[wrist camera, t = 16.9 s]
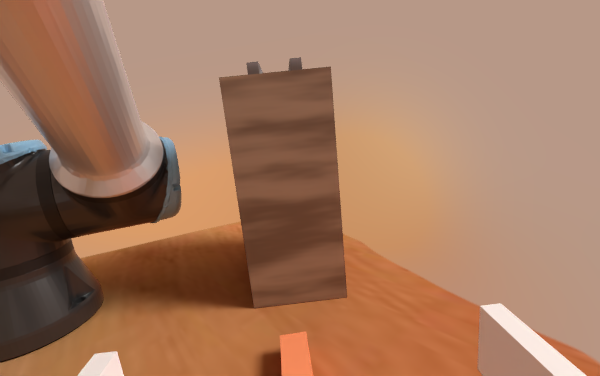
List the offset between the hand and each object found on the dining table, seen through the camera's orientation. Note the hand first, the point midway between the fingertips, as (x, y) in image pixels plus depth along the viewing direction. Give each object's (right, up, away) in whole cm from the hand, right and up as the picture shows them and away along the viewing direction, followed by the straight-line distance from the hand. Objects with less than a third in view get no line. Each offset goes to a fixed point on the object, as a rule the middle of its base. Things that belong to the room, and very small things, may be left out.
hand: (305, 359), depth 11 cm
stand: (-1, -7, +36) cm, 37 cm away
